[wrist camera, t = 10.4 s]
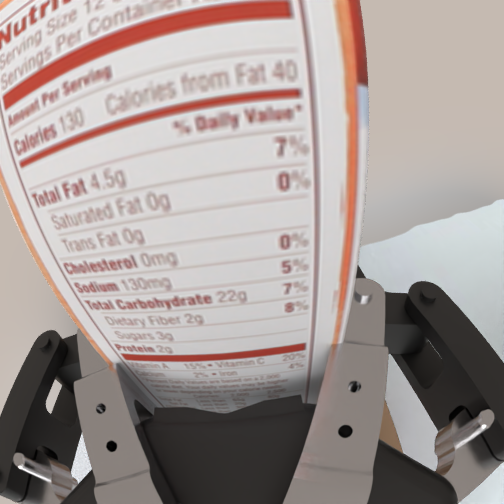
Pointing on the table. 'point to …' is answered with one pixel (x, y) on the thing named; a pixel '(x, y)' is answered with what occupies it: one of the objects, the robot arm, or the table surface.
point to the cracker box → (192, 183)
